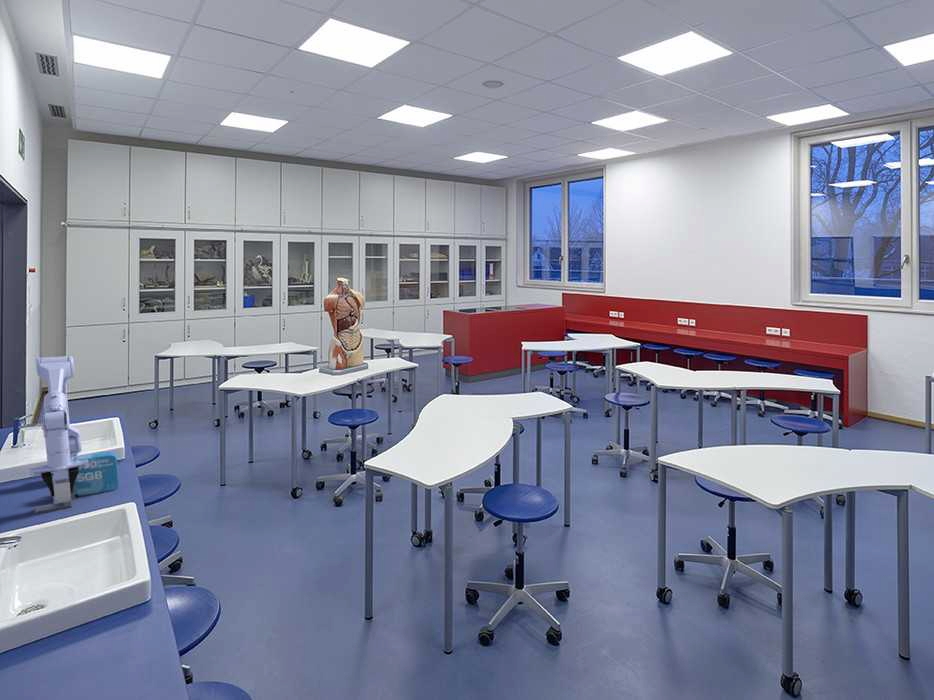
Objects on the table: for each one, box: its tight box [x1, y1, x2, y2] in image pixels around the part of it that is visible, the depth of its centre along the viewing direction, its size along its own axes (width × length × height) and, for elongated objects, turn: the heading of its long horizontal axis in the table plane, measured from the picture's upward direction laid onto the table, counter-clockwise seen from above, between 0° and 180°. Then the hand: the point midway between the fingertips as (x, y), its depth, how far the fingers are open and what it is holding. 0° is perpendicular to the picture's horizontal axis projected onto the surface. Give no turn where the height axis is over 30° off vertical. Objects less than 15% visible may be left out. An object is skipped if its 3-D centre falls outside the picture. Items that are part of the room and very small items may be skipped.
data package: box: [73, 451, 119, 497], centre depth 192 cm, size 12×4×12 cm, turn 121°
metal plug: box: [53, 478, 72, 504], centre depth 179 cm, size 4×4×6 cm
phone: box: [34, 500, 72, 516], centre depth 179 cm, size 5×9×1 cm, turn 127°
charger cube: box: [71, 485, 76, 500], centre depth 187 cm, size 5×5×5 cm
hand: (61, 494), depth 180 cm, fingers closed on metal plug, 4 cm apart
